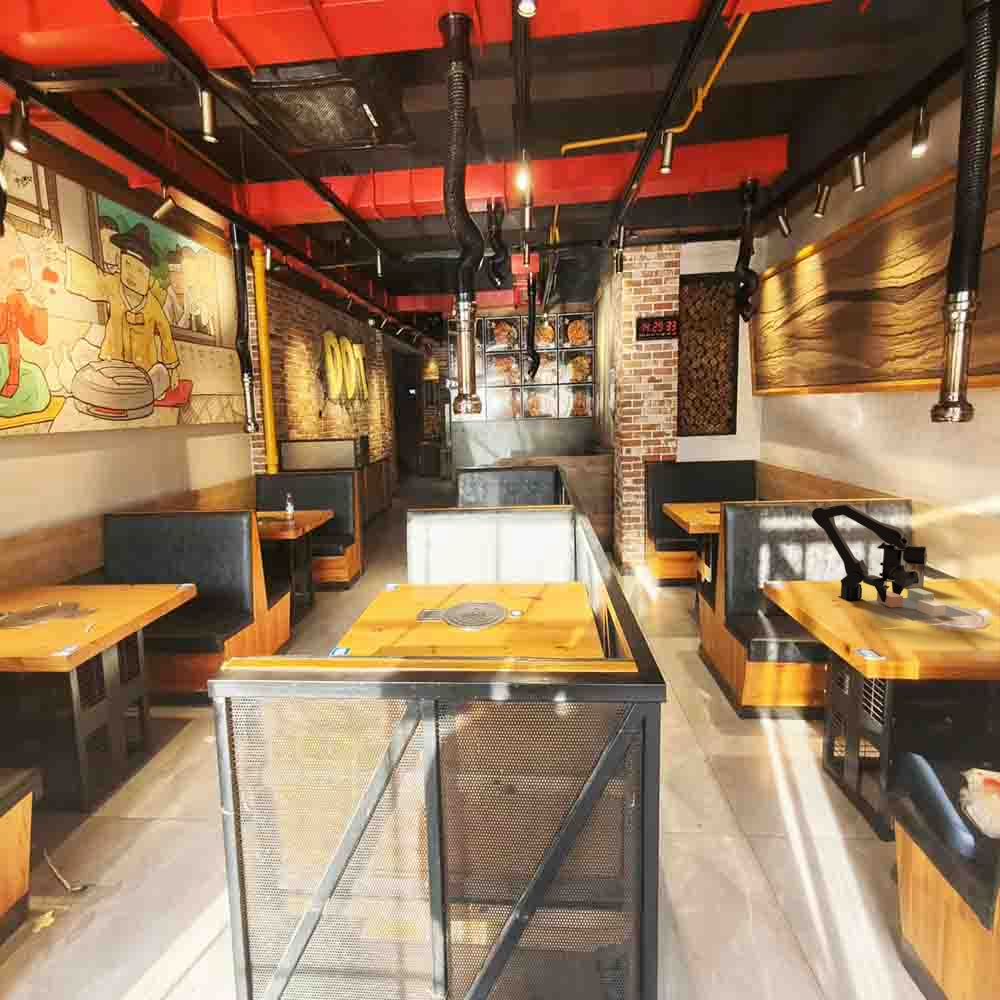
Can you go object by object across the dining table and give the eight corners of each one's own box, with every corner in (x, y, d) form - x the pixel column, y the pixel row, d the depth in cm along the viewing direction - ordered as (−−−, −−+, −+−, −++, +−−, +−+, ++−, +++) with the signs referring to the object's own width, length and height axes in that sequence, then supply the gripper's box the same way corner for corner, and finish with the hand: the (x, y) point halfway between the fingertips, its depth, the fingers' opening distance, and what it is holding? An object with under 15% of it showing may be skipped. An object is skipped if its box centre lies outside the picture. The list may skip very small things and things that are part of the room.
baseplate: (912, 621, 204) (913, 609, 203) (865, 602, 225) (865, 591, 224) (973, 616, 207) (974, 604, 206) (920, 597, 228) (921, 586, 228)
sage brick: (933, 603, 219) (934, 593, 219) (922, 604, 219) (923, 594, 218) (917, 598, 226) (918, 588, 226) (907, 599, 226) (907, 589, 225)
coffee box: (911, 583, 247) (913, 546, 244) (923, 587, 240) (926, 549, 238) (891, 584, 245) (893, 547, 243) (903, 589, 239) (906, 551, 237)
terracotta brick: (902, 606, 217) (903, 596, 216) (891, 607, 216) (891, 597, 215) (887, 600, 223) (888, 590, 223) (876, 601, 223) (877, 591, 222)
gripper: (886, 568, 208) (883, 610, 210) (932, 564, 211) (929, 606, 213) (863, 560, 219) (860, 600, 221) (907, 557, 222) (905, 597, 224)
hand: (889, 601), depth 220 cm, fingers closed on terracotta brick, 5 cm apart
